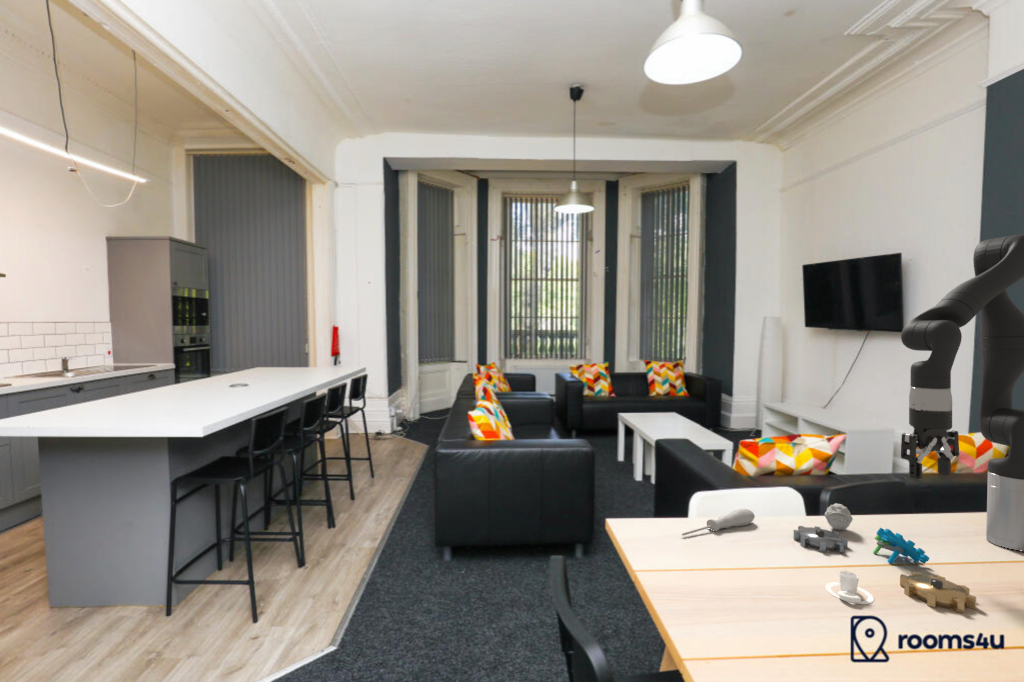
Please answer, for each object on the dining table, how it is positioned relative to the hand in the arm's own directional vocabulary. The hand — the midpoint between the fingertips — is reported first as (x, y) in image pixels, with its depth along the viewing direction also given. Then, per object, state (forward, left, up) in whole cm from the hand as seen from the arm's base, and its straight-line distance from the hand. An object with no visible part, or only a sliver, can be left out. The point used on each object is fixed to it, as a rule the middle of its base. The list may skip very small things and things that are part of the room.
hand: (930, 476), depth 111 cm
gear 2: (+9, -1, -19) cm, 21 cm away
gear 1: (+18, -13, -19) cm, 29 cm away
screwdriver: (+36, -28, -19) cm, 49 cm away
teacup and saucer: (+36, +4, -19) cm, 41 cm away
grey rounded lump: (+5, -18, -19) cm, 26 cm away
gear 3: (+18, +12, -19) cm, 28 cm away
